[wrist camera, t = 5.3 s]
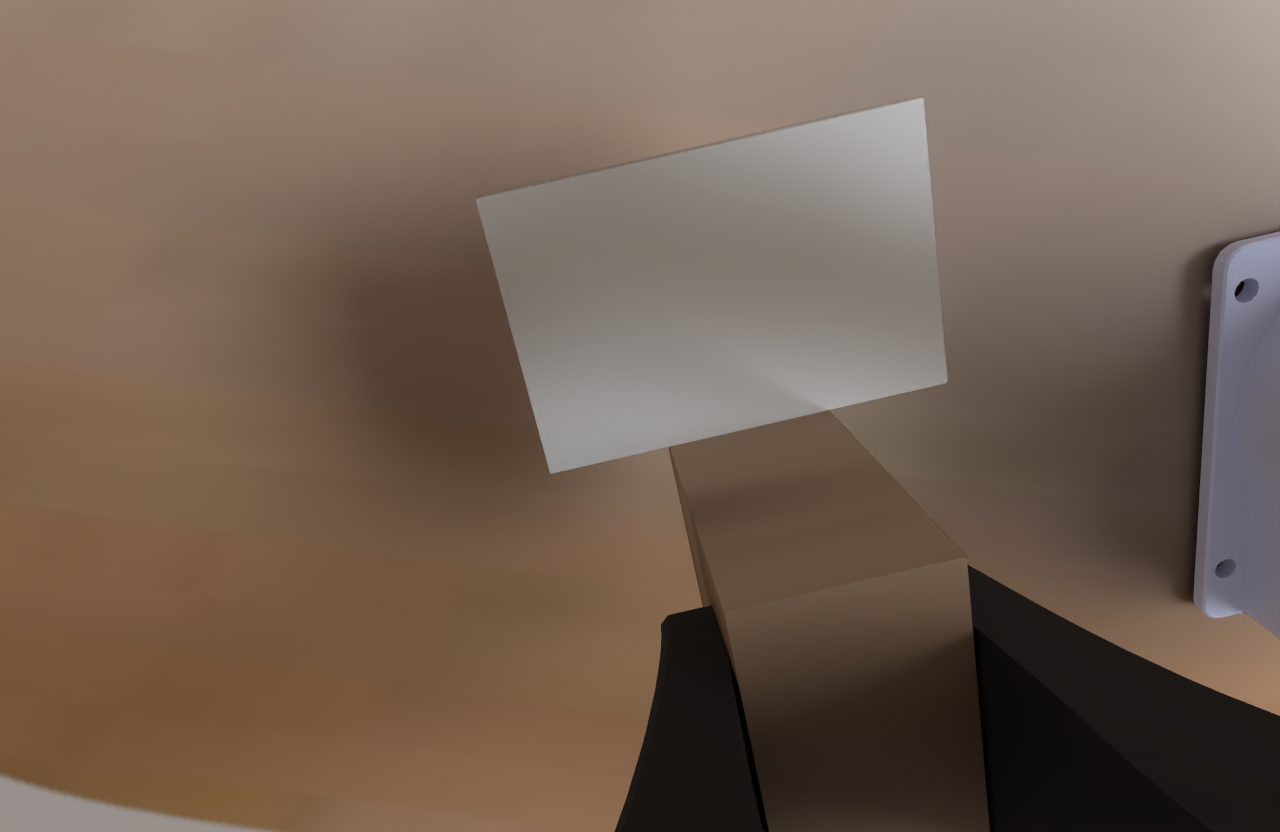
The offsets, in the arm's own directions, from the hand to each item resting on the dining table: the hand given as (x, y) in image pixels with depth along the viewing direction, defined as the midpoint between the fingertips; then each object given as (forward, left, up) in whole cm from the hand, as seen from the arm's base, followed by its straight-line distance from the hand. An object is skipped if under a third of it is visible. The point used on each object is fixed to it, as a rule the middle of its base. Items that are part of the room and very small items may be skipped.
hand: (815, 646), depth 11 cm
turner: (+2, 0, -3) cm, 3 cm away
